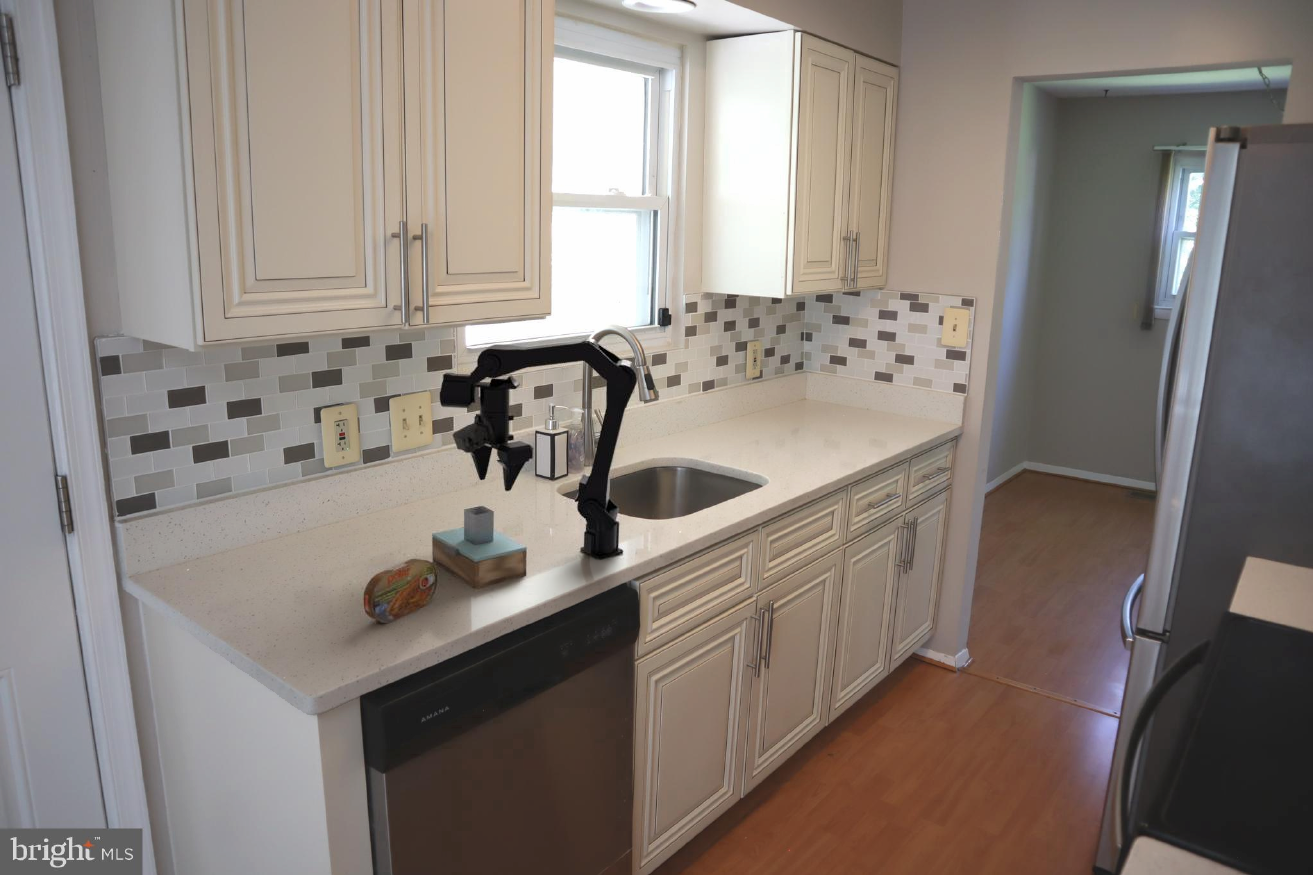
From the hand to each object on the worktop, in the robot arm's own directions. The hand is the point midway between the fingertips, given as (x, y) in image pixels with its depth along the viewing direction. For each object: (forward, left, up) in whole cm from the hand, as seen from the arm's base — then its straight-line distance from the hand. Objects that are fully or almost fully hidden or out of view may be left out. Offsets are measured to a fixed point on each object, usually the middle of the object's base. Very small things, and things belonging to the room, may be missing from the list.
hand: (494, 485), depth 185 cm
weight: (+9, +8, -7) cm, 14 cm away
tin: (+29, +17, -13) cm, 36 cm away
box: (+9, +8, -13) cm, 18 cm away
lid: (+9, +8, -9) cm, 15 cm away
